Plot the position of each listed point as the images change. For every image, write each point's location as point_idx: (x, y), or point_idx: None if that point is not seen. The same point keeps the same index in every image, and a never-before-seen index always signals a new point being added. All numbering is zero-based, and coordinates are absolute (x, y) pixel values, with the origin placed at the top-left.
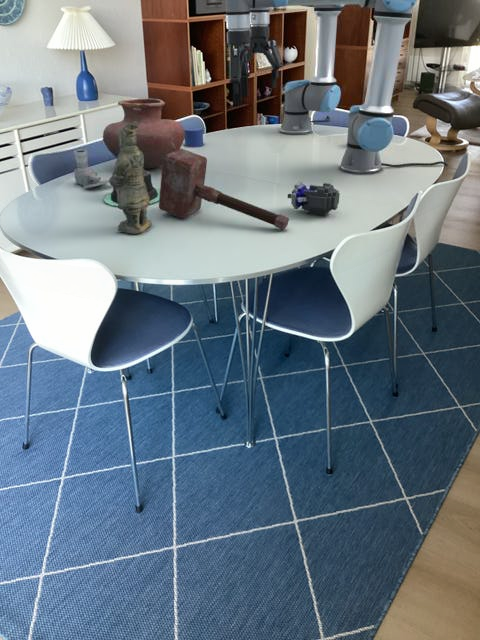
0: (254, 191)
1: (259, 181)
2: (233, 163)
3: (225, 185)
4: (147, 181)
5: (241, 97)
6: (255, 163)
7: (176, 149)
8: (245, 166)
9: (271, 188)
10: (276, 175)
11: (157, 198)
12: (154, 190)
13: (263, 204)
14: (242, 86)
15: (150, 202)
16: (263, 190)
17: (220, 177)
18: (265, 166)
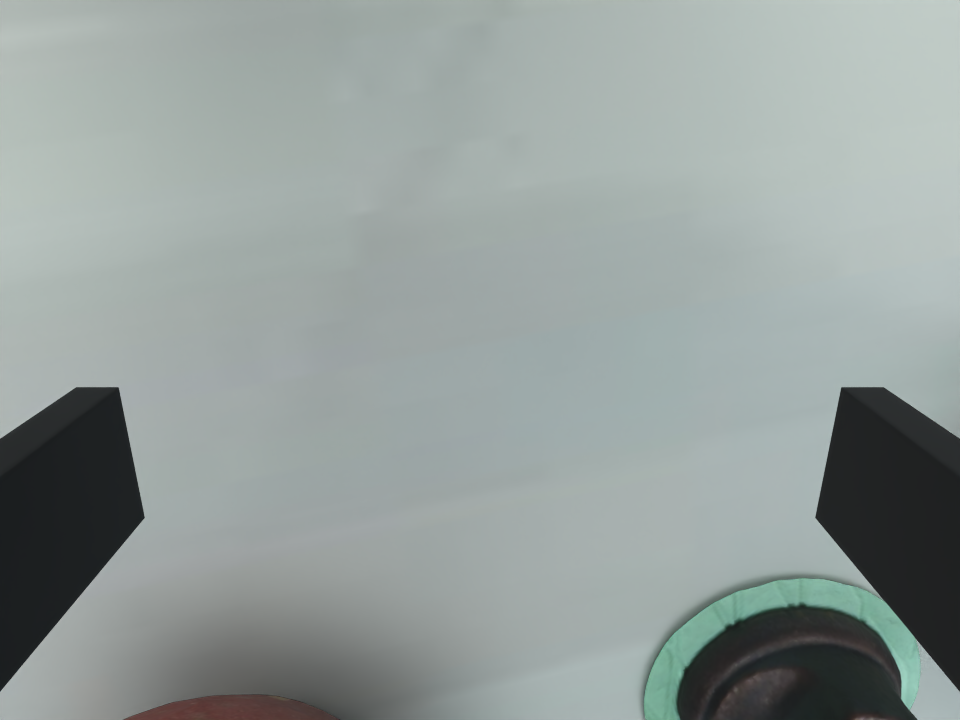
0: (680, 119)
1: (461, 117)
2: (78, 357)
3: (563, 319)
4: (881, 694)
5: (139, 496)
6: (33, 210)
7: (270, 714)
8: (128, 267)
9: (613, 8)
10: (301, 8)
11: (821, 596)
12: (804, 634)
13: (944, 20)
14: (2, 606)
15: (873, 609)
16: (658, 60)
17: (404, 378)
18: (89, 125)
